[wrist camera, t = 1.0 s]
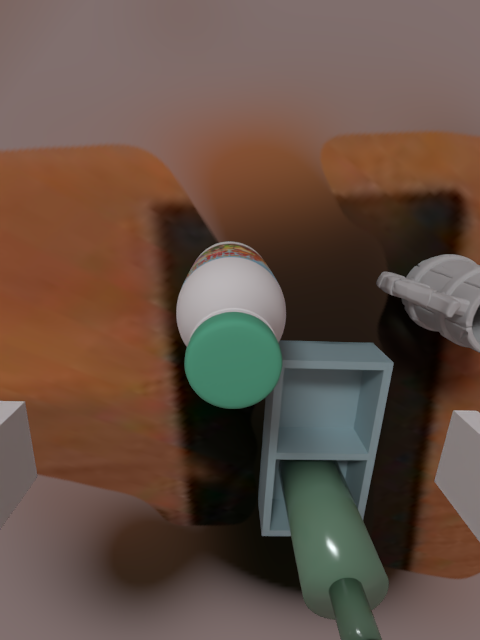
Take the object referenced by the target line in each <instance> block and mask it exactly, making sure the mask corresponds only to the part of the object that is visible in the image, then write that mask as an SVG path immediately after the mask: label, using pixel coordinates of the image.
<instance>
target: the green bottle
mask: <svg viewBox="0 0 480 640" xmlns="http://www.w3.org/2000/svg"><path fill="white" fill-rule="evenodd" d="M278 471H279V477H280V482H281V487H282V492H283V497H284V502H285V507H286V512H287V517H288V523H289V528H290V533H291V538H292V543H293V548H294V553H295V558H296V563H297V568H298V573H299V579H300V584H301V589H302V594H303V599H304V601H305V604H306V605H307V607H308V608H309V609H310V610H311V611H312V612H314V613H315V614H317V615H319V616H321V617H324V618H328V619H334V620H336V623H337V626H338V630H339V634H340V638H341V640H382V638H381V636H380V633H379V630H378V627H377V625H376V622H375V619H374V616H373V614H372V610H373V609H374V608H376V607H377V606H378V605H379V604H380V603H381V602H382V601H383V599H384V597H385V596H386V594H387V591H388V586H389V584H388V583H389V582H388V578H387V575H386V573H385V571H384V568H383V566H382V564H381V561H380V559H379V557H378V554H377V552H376V550H375V548H374V545H373V543H372V541H371V538H370V536H369V534H368V531H367V529H366V527H365V525H364V522H363V520H362V518H361V515H360V513H359V511H358V508H357V506H356V504H355V501H354V499H353V497H352V494H351V492H350V490H349V488H348V485H347V483H346V481H345V478H344V476H343V474H342V471H341V469H340V467H339V464H338V462H337V460H280V462H279V467H278Z"/></svg>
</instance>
